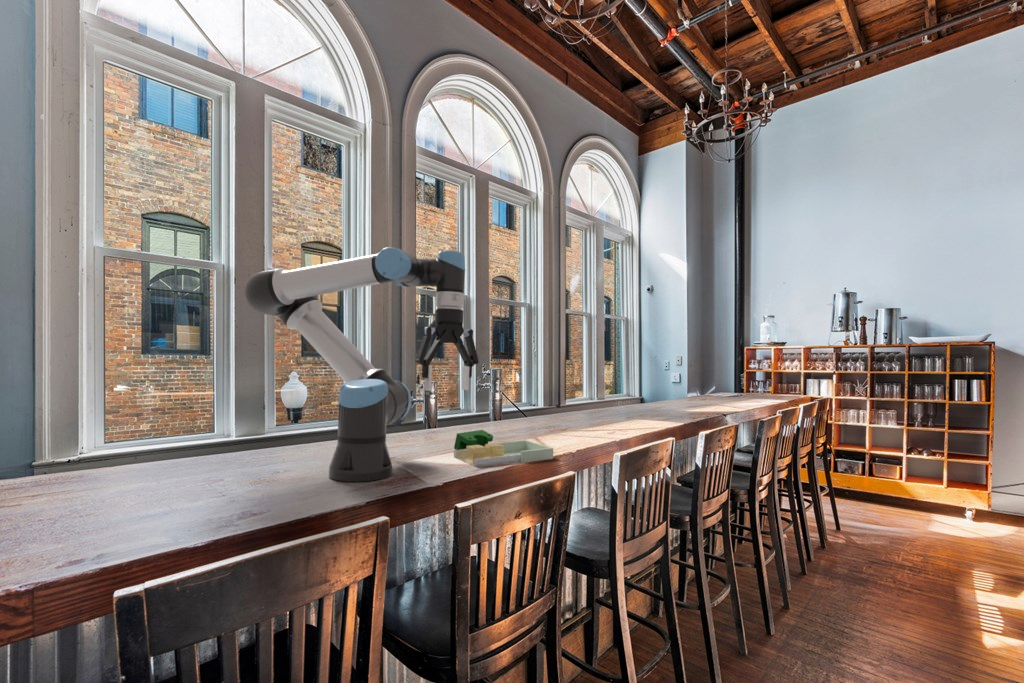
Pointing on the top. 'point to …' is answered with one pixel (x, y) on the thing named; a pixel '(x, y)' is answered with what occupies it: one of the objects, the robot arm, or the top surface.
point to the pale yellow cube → (494, 450)
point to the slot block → (487, 459)
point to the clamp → (472, 439)
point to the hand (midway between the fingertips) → (446, 390)
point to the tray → (527, 450)
